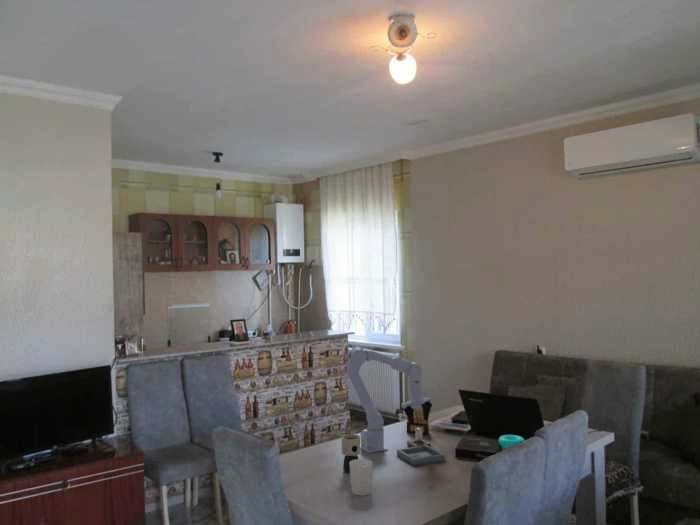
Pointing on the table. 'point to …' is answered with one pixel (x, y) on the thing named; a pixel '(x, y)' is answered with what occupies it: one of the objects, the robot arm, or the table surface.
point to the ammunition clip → (418, 423)
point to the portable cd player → (477, 448)
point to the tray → (420, 455)
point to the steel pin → (418, 435)
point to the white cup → (361, 476)
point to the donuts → (510, 440)
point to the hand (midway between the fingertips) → (418, 421)
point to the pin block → (413, 444)
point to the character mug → (350, 449)
